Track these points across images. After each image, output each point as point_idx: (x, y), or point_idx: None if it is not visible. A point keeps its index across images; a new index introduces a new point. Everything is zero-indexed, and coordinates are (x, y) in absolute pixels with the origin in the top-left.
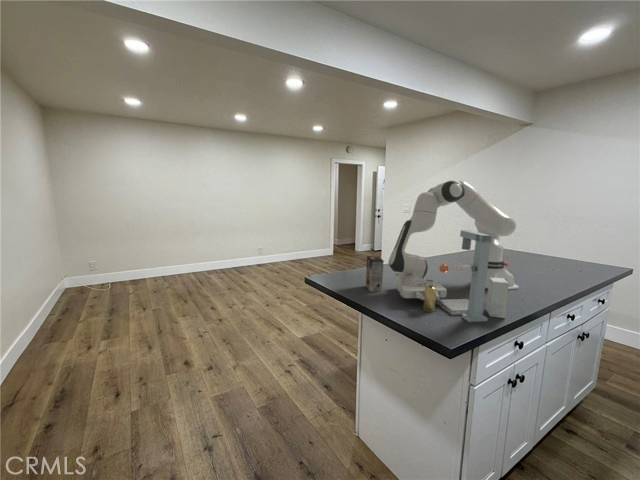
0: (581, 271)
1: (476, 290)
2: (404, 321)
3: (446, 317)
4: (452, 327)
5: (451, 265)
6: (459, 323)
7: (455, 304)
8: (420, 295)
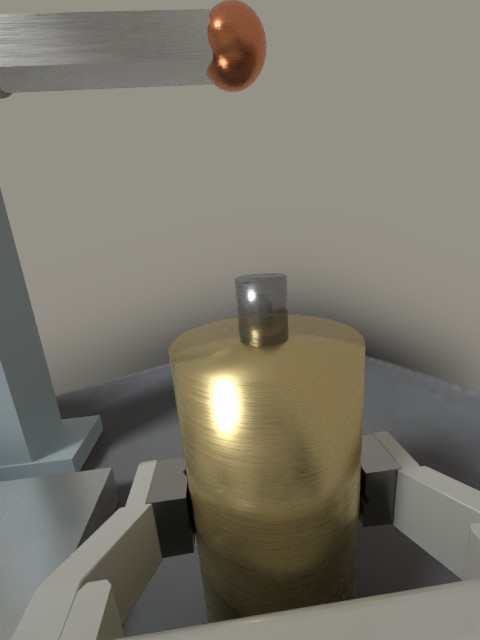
0: None
1: (15, 253)
2: (460, 406)
3: None
4: None
5: (152, 16)
6: (166, 415)
7: None
8: (425, 476)
